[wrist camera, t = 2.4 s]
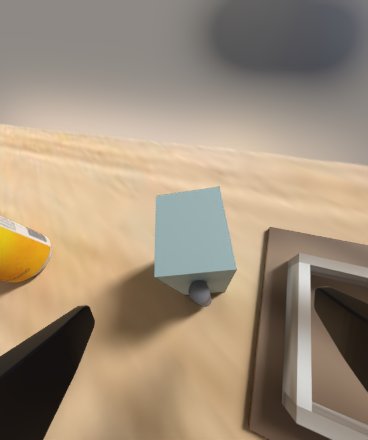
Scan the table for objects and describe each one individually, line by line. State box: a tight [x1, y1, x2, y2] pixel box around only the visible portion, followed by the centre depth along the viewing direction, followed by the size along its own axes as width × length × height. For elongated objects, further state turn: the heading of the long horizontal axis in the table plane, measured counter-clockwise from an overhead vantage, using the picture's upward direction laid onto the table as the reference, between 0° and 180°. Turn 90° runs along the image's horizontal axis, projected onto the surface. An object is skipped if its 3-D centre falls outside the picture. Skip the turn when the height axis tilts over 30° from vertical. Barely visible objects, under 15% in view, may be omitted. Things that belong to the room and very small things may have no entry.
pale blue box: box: [154, 187, 237, 307], centre depth 13 cm, size 6×4×10 cm, turn 4°
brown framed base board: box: [248, 227, 368, 440], centre depth 13 cm, size 16×12×3 cm
